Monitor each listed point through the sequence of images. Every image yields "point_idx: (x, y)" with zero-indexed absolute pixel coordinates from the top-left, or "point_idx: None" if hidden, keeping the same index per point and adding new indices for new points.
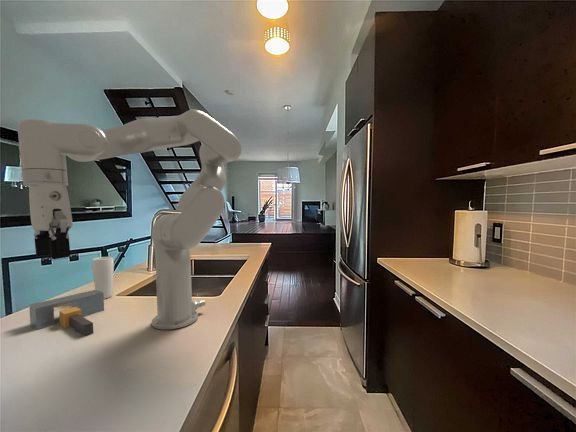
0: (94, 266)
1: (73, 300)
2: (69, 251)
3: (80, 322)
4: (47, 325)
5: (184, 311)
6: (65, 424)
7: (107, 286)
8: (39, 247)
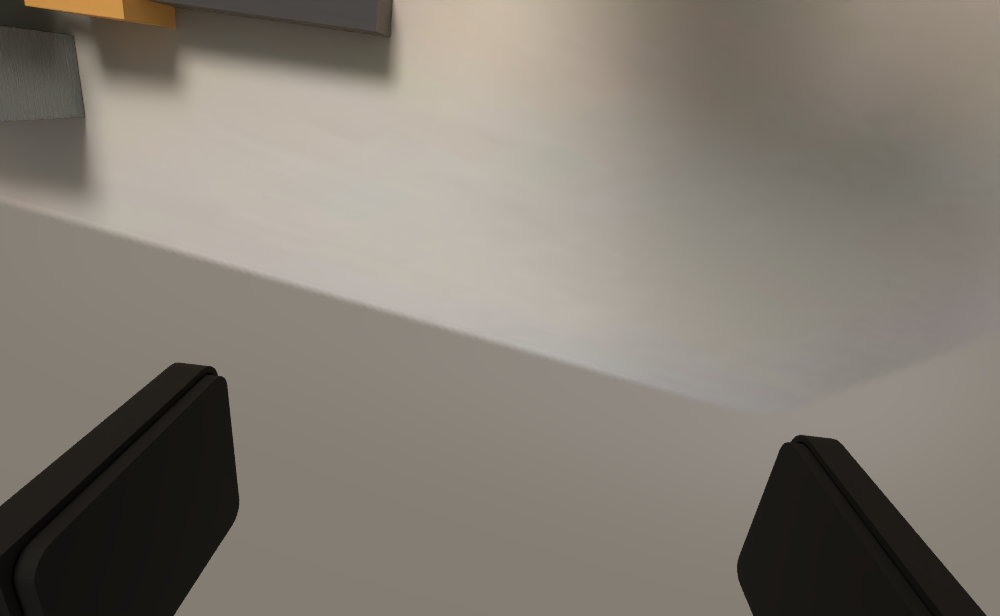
0: None
1: None
2: (864, 482)
3: (309, 17)
4: (72, 67)
5: None
6: (911, 357)
7: None
8: (179, 575)
